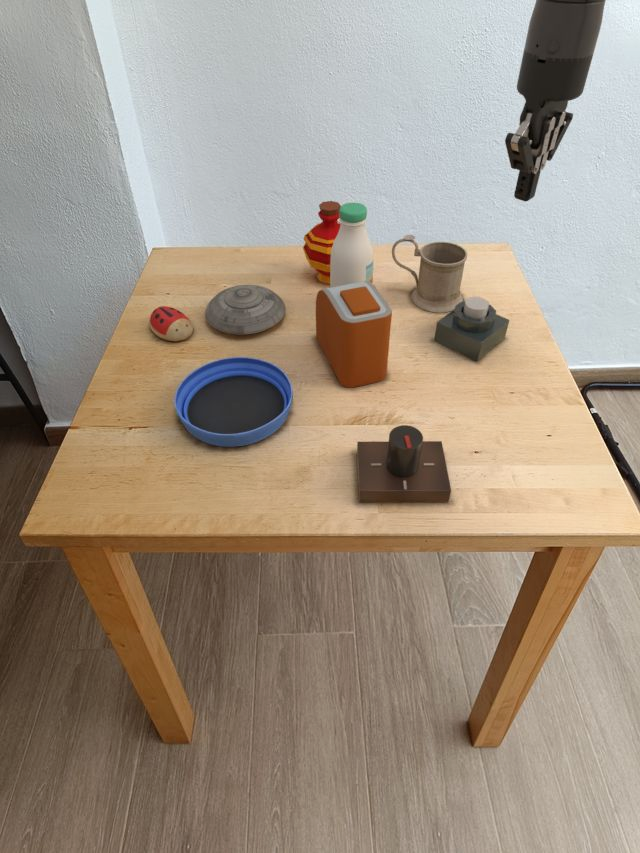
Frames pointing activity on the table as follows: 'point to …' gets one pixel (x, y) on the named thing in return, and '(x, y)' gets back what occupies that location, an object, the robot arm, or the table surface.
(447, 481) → the dial panel
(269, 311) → the flying saucer
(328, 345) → the alarm clock
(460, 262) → the mug
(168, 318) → the ladybug figurine
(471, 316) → the grey push button
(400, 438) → the dial
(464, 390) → the table surface
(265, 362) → the bowl
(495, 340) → the push button base
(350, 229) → the milk bottle
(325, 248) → the potion bottle
